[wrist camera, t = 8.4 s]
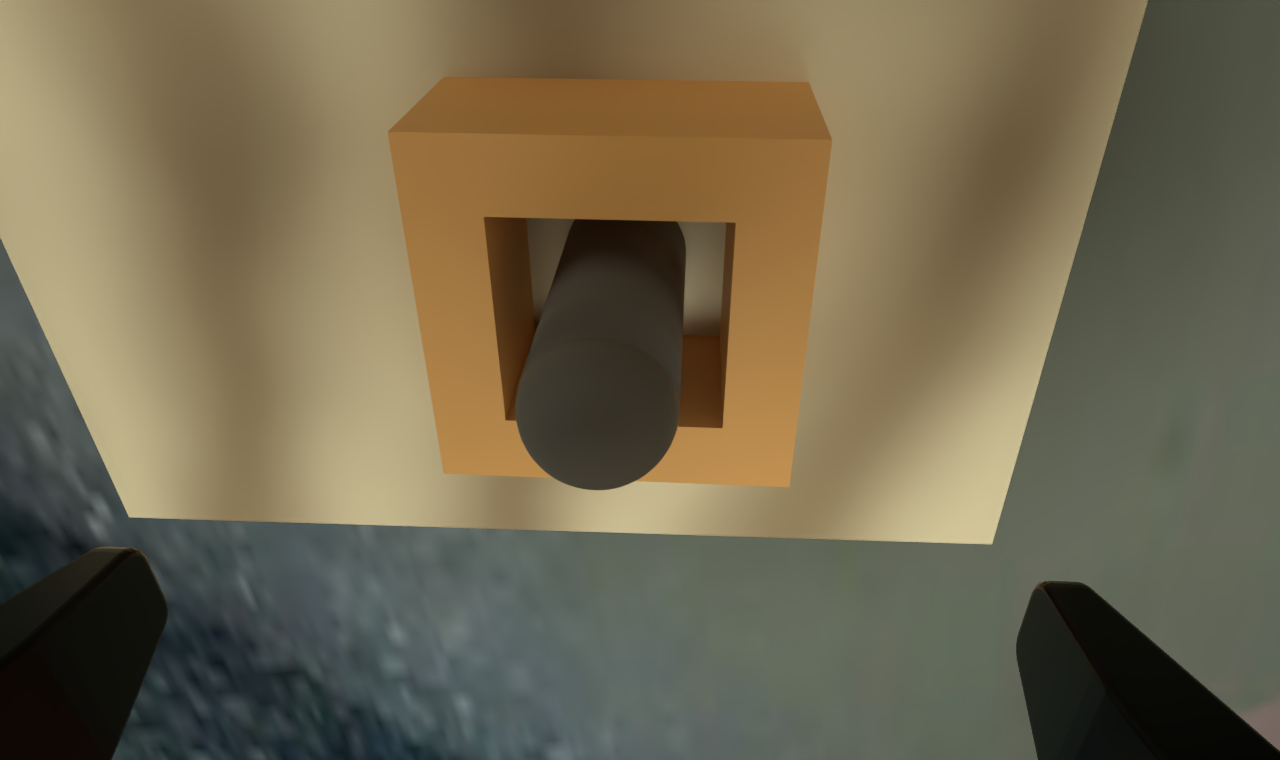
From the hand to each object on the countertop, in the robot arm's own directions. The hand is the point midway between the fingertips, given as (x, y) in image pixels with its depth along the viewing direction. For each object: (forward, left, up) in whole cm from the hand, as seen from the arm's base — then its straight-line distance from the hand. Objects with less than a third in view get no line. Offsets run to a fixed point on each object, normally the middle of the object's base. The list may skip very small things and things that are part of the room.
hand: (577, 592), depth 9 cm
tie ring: (0, 0, -8) cm, 8 cm away
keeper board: (-2, 0, -10) cm, 10 cm away
